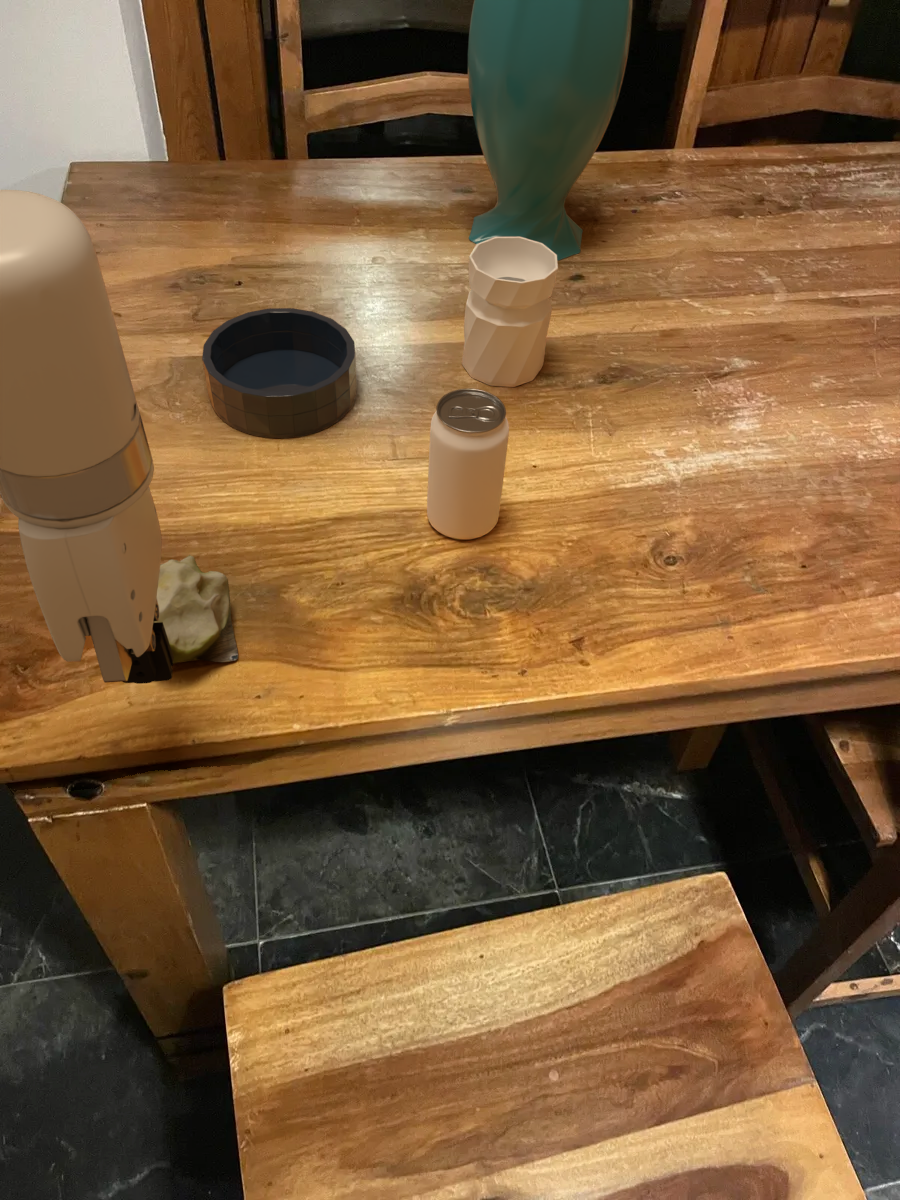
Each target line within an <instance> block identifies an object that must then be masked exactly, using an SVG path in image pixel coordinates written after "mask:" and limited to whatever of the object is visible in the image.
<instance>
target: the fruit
mask: <svg viewBox="0 0 900 1200" xmlns="http://www.w3.org/2000/svg"><path fill="white" fill-rule="evenodd" d="M157 601H158V606H159V620H158V621H153V623H159V622H163V625H164V628H165V631H166V634H167V637H168V641H169V644H170V647H171V650H172V653H173V656H174V661H173V664H178V663H183V662H191V661H192V662H193V661H205V662H215V663H229V662H233V661H237V660H238V659H239V652H238V647H237V642H236V639H235V632H234V627H233V621H232V609H231V608H232V607H231V595H230V585H229V578H228V577H227V575H225V574H224V573H222V572H220V571H214V570H209V571H208V572H203V571H201V569H200V567H199V566H198V564H197V562H196V558H195V557H194V556H193V555H192V554H189V555H187V556H185V557H184V558H183V559H181V560H180V561H179V560H177V559H173V558H172V559H168V561H166V562H164V563H160V572H159V581H158V589H157Z"/></svg>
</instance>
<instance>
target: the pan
mask: <svg viewBox="0 0 900 1200" xmlns="http://www.w3.org/2000/svg"><path fill="white" fill-rule="evenodd" d="M355 345H356V344H355V341H354V339H353V337H352V336H351V334H350V333H349V331H348V329H347V328H345V327H344V326H343V325H341V324H340V323H339V322H337V321H336V320H334V319H333V318H331V317H329V316H325V315H323V314H321V313H318V312H315V311H314V310H313V311H312V310H307V309H299V308H294V307H292V308H291V307H284V308H283V307H279V308H278V307H274V308H271V307H270V308H262V309H257V310H253V311H248V312H245V313H242V314H240V315H238V316H235V317H232V318H230V319H227V320H226V321H225V322H222V323H221V324H220V325H219V326H218V327H216V328H215V329H213V330H212V332H211V333H210V335H208V337H207V339H206V340H205V342H204V343H203V347H202V356H201V357H202V358H201V361H202V366H203V371H204V377H205V383H206V389H207V393H208V398H209V401H210V405H211V407H212V409H213V412H215V414H216V415H217V416H218V418H219V419H220V420H222V421H223V422H224V423H225V424H227V425H228V426H229V427H231V428H233V429H235V430H237V431H239V432H242V433H244V434H247V435H250V436H255V437H259V438H260V437H261V438H265V439H266V438H267V439H292V438H298V437H299V438H300V437H306V436H309V435H313V434H316V433H318V432H322V431H324V430H326V429H328V428H331V427H332V426H333V425H335V424H337V423H338V422H340V420H342V419H344V417H345V416H346V415H347V414H348V413H349V411H351V409H352V407H353V405H354V403H355V401H356V396H357V366H356V365H357V364H356V347H355Z"/></svg>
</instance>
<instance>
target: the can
mask: <svg viewBox="0 0 900 1200" xmlns="http://www.w3.org/2000/svg"><path fill="white" fill-rule="evenodd" d="M431 417H432V418H431V421H430V428H429V431H430V432H429V448H428V450H429V451H428V467H427V469H428V470H427V471H428V472H427V493H426V494H427V495H426V516H427V520H428V522H429V524H430V525H431V526H432V528H434V529H435V530H436V531H437V532H438V533H440V534H441V535H442V536H445V537H447V538H449V539H453V540H459V541H467V540H468V541H470V540H475V539H478V538H481V537H483V536H485V535H487V534H489V533H490V532H491V531H492V530H493V529H494V528H495V527H496V525H497V523H498V522H499V516H500V509H501V501H502V494H503V488H504V487H503V485H504V478H505V471H506V470H505V469H506V461H507V453H508V445H509V444H508V443H509V437H510V435H509V434H510V424H509V420H508V418H507V408H506V406H505V404H504V403H503V401H502V399H500V398H499V397H498V396H496V395H494V394H493V393H491V392H489V391H487V390H482V389H479V388H459V389H455V390H451V391H450V392H447V393H445V394H444V395H443V396H442V397H441V398H440V399H439V400H438V402H437V404H436V409H435V412H434V413H433V415H432V416H431Z"/></svg>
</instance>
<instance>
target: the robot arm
mask: <svg viewBox="0 0 900 1200" xmlns="http://www.w3.org/2000/svg"><path fill="white" fill-rule="evenodd" d="M104 280H105V279H104V276H103V272H102V268H101V265H100V262H99V257H98V254H97V252H96V249H95V246H94V242H93V239H92V237H91V234H90V233H89V231H88V229H87V227H86V225H85V224H84V222H83V221H82V220H81V218H80V217H79V216H78V215H77V214H76V213H75V212H74V211H73V210H72V209H70V208H69V207H68V206H67V205H65V204H64V203H62V202H61V201H59V200H57V199H54V198H52V197H49V196H47V195H44V194H41V193H38V192H34V191H27V190H20V189H0V497H1V500H2V501H3V503H4V505H5V507H6V508H7V509H8V510H9V512H10V513H11V514H13V515H14V516H15V517H16V518H18V519H17V522H18V523H17V524H18V526H17V527H18V533H19V541H20V545H21V548H22V553H23V558H24V561H25V565H26V569H27V572H28V575H29V578H30V579H29V580H30V582H31V586H32V588H33V592H34V594H35V597H36V600H37V602H38V605H39V608H40V610H41V613H42V616H43V618H44V621H45V624H46V627H47V629H48V631H49V634H50V637H51V639H52V641H53V644H54V646H55V648H56V650H57V652H58V654H59V656H60V657H61V658H62V659H63V660H64V661H65V662H68V663H70V662H81V660H82V658H83V652H84V649H85V644H86V640H87V638H86V637H90V638H91V640H92V644H93V648H94V650H95V652H94V653H95V656H96V660H97V663H98V667H99V670H100V674H101V677H102V681H103V682H104V683H107V684H108V683H120V682H121V683H125V684H137V685H139V684H140V685H142V684H150V683H152V682H153V683H154V682H165V681H166V682H167V681H170V680H171V679H172V678H173V668H172V667H173V666H174V663H173V661H174V656H173V653H172V650H171V647H170V644H169V641H168V637H167V634H166V631H165V628H164V625H163V622H159V623H153V621H158V620H159V606H158V601H157V589H158V581H159V572H160V564H162V563H161V562H162V551H163V549H162V548H163V541H162V540H163V538H162V531H161V525H160V520H159V516H158V512H157V508H156V505H155V501H154V498H153V495H152V492H151V489H150V485H151V484H152V480H153V478H154V473H155V464H154V459H153V456H152V455H153V454H152V452H151V448H150V444H149V440H148V438H147V434H146V429H145V426H144V423H143V419H142V415H141V411H140V408H139V406H138V401H137V398H136V393H135V390H134V387H133V383H132V379H131V376H130V372H129V371H130V370H129V368H128V364H127V361H126V357H125V353H124V349H123V345H122V342H121V339H120V335H119V332H118V331H119V330H118V327H117V324H116V320H115V317H114V313H113V309H112V305H111V301H110V298H109V294H108V291H107V287H106V284H105V281H104Z"/></svg>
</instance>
